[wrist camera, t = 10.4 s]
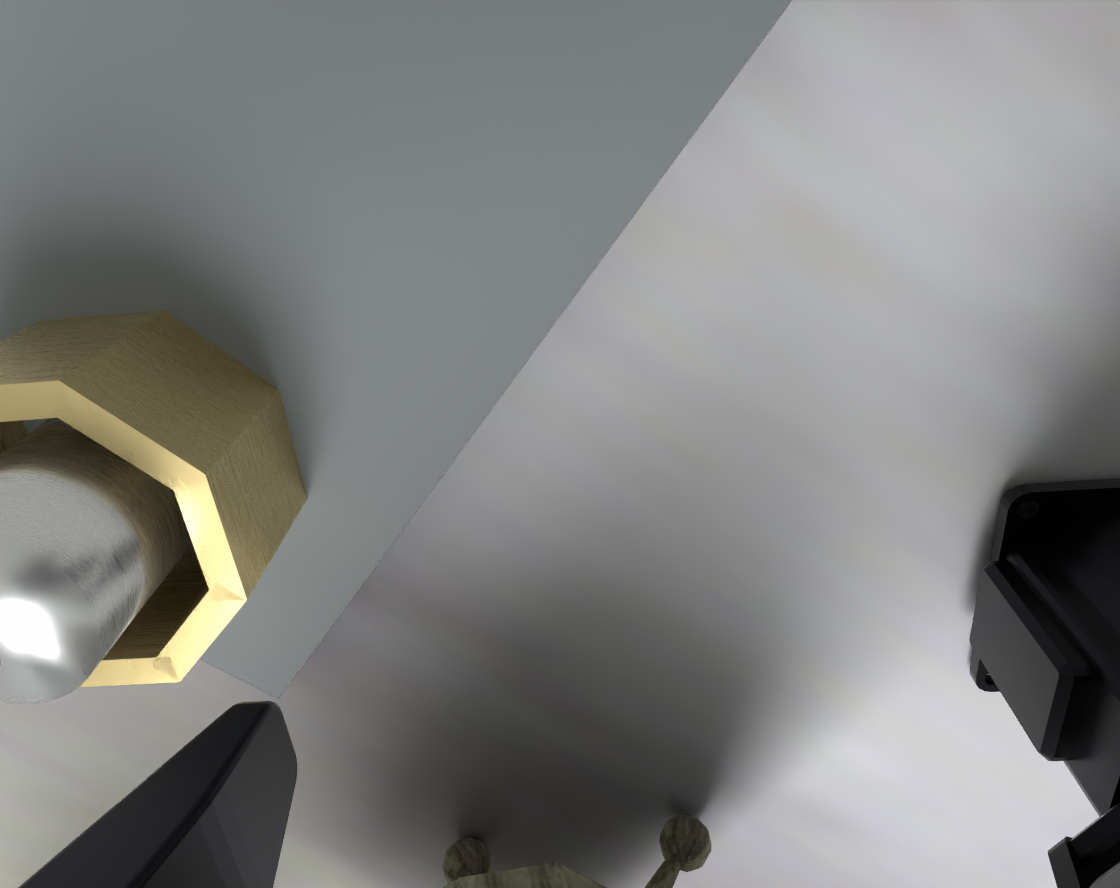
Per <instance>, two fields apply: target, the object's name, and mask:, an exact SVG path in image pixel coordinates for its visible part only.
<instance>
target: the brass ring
mask: <svg viewBox="0 0 1120 888" xmlns="http://www.w3.org/2000/svg"><path fill="white" fill-rule="evenodd" d="M46 418H59V419H61V420H62V421H64V422H66V423H67V424H69V425H70V426H72V427H73V428H75V429H77V430H78V431H80V432H81V433H83V434H85V435H86V436H88V437H89V438H91V439H93V440H94V441H96V442H97V443H99V444H101V445H102V446H104V447H105V448H107V449H109V450H110V451H112V452H113V453H115V454H116V455H118V456H120V457H121V458H123V459H124V460H126V461H128V462H129V463H131V464H132V465H134V466H136V467H137V468H139V469H140V470H142V471H144V472H145V473H147V474H148V475H150V476H152V477H153V478H155V479H156V480H158V481H159V482H161V483H163V484H164V485H166V486H167V487H169V488H171V489H172V490H174V493H175V495H176V498H177V501H178V504H179V507H180V509H181V512H182V515H183V518H184V521H185V524H186V526H187V529H188V532H189V535H190V538H191V540H192V543H193V546H194V549H195V552H185V553H184V554H183V555H182V557H181V558H180V559H179V560H178V562H177V563H176V564H175V566H174V567H173V568H172V570H171V571H170V572H169V573H168V575H167V576H166V577H165V579H164V580H163V581H162V583H161V584H160V585H159V586H158V588H157V589H156V590H155V592H154V593H153V594H152V596H151V597H150V598H149V599H148V601H147V602H146V603H145V605H144V606H143V607H142V609H141V610H140V611H139V612H138V614H137V615H136V616H135V618H134V619H133V620H132V622H131V623H130V624H129V625H128V627H127V628H126V629H125V631H124V632H123V633H122V635H121V636H120V637H119V638H118V640H117V641H116V642H115V644H114V645H113V646H112V648H111V649H110V650H109V651H108V653H107V654H106V655H105V657H104V658H103V659H102V661H101V662H100V663H99V664H98V666H97V667H96V668H95V670H94V671H93V672H92V674H91V675H90V676H89V678H88V679H87V680H86V681H85V682H84V683H83V684H82V685H81V686H79V687H91V686H111V685H131V684H151V683H170V682H180V681H181V680H182V679H183V678H184V676H185V675H186V674H187V673H188V671H189V670H190V669H191V668H192V667H193V665H194V664H195V663H196V662H197V660H198V659H199V658H200V657H201V656H202V654H203V653H204V652H205V651H206V649H207V648H208V647H209V646H210V645H211V643H212V642H213V641H214V640H215V638H216V637H217V636H218V635H219V634H220V632H221V631H222V630H223V629H224V627H225V626H226V625H227V624H228V623H229V621H230V620H231V619H232V618H233V616H234V615H235V614H236V613H237V612H238V610H239V609H240V608H241V607H242V605H243V604H244V603H245V602H246V601H247V599H248V598H249V596H250V594H251V593H252V591H253V589H254V587H255V586H256V584H257V582H258V581H259V579H260V577H261V576H262V574H263V572H264V571H265V569H266V567H267V566H268V564H269V562H270V561H271V559H272V557H273V556H274V554H275V552H276V551H277V549H278V547H279V546H280V544H281V542H282V541H283V539H284V537H285V535H286V534H287V532H288V530H289V529H290V527H291V525H292V524H293V522H294V520H295V519H296V517H297V515H298V514H299V512H300V510H301V509H302V507H303V505H304V504H305V502H306V500H307V499H308V496H307V492H306V489H305V485H304V481H303V478H302V474H301V470H300V467H299V463H298V459H297V456H296V452H295V448H294V445H293V441H292V437H291V434H290V430H289V426H288V422H287V419H286V415H285V411H284V408H283V404H282V400H281V397H280V393H279V389H278V388H276V387H275V386H273V385H272V384H270V383H269V382H267V381H266V380H265V379H263V378H262V377H260V376H259V375H257V374H256V373H254V372H253V371H252V370H250V369H249V368H247V367H246V366H244V365H243V364H241V363H240V362H239V361H237V360H236V359H234V358H233V357H231V356H230V355H228V354H227V353H226V352H224V351H223V350H221V349H220V348H218V347H217V346H215V345H214V344H213V343H211V342H210V341H208V340H207V339H205V338H204V337H202V336H201V335H200V334H198V333H197V332H195V331H194V330H192V329H191V328H189V327H188V326H187V325H185V324H184V323H182V322H181V321H179V320H178V319H176V318H175V317H174V316H172V315H171V314H169V313H168V312H166V311H165V310H160V311H148V312H136V313H124V314H112V315H100V316H88V317H76V318H64V319H52V320H40V321H37V322H35V323H33V324H31V325H30V326H28V327H26V328H24V329H22V330H20V331H18V332H16V333H14V334H13V335H11V336H9V337H7V338H5V339H3V340H1V341H0V454H1V453H3V452H4V451H6V450H7V449H8V448H10V447H11V446H12V445H14V444H15V443H17V442H18V441H19V440H21V439H22V438H23V437H25V436H26V435H28V433H27V430H26V428H25V426H24V423H23V421H22V420H33V419H46Z"/></svg>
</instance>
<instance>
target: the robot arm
mask: <svg viewBox="0 0 1120 888" xmlns="http://www.w3.org/2000/svg"><path fill="white" fill-rule="evenodd" d="M1028 501H1031V503H1030V505H1029V506H1028V507H1026V508H1025V509H1022V510H1018V509H1019V507H1020V506H1021V505H1022V504H1023V503H1025V502H1028ZM970 643H971V645H972V647H973V648H974V649H973V654H972V659H971V665H970V675H971V676H972V678H973V680H974V681H975V683H976V685H977V686H978V687H979V688H980V689H982V690H984V691H989V692H998V691H1000V692H1001V693H1002V695H1003V697H1004V698H1005V700H1006V701H1007V703H1008V705H1009V706H1010V708H1011V709H1012V711H1013V713H1014V714H1015V716H1016V718H1017V719H1018V721H1019V722H1020V724H1021V726H1022V727H1023V729H1024V730H1025V732H1026V734H1027V735H1028V737H1029V738H1030V740H1031V742H1032V743H1033V745H1034V747H1035V748H1036V750H1037V751H1038V752H1039V753H1040V754H1041V755H1042V756H1043V757H1045V758H1046V759H1047V760H1048V761H1064V763H1065V764H1066V766H1067V767H1068V769H1069V770H1070V772H1071V773H1072V775H1073V776H1074V778H1075V779H1076V781H1077V783H1078V784H1079V786H1080V787H1081V789H1082V790H1083V792H1084V793H1085V795H1086V796H1087V798H1088V800H1089V801H1090V803H1091V804H1092V806H1093V807H1094V809H1095V810H1096V812H1097V813H1098V815H1099V818H1098V819H1097V820H1095V821H1094V822H1093V823H1091V824H1090V825H1089V826H1088V827H1086V828H1085V829H1084V830H1082V831H1081V832H1080V833H1079V834H1077V835H1076V836H1075V837H1073V838H1071V837H1065V838H1064V839H1063V840H1061V841H1060V842H1059V843H1058V844H1056V845H1055V846H1054V847H1052V848H1051V849H1050V850H1049V851H1048V856H1049V859H1050V863H1051V866H1052V870H1053V873H1054V877H1055V880H1056V884H1057V887H1058V888H1120V479H1106V480H1089V481H1071V482H1054V483H1036V484H1023V485H1018V486H1015V487H1013V488H1012V489H1010V490H1008V492H1007V493H1006V494H1005V495H1004V496H1003V498H1002V500H1001V503H1000V508H999V514H998V519H997V525H996V530H995V535H994V541H993V546H992V552H991V557H990V562H988V563H987V564H986V566H985V567H984V568H983V570H982V573H981V579H980V584H979V590H978V595H977V601H976V606H975V612H974V617H973V623H972V628H971V634H970ZM987 674H990V675H987ZM296 778H297V759H296V755H295V751H294V748H293V745H292V742H291V739H290V736H289V733H288V730H287V726H286V723H285V720H284V717H283V714H282V711H281V709H280V707H279V706H278V705H277V704H276V703H274V702H271V701H261V702H242V703H238V704H235V705H233V706H232V707H231V708H229V709H228V710H227V711H226V712H224V713H223V714H222V715H221V716H220V717H218V718H217V719H216V720H215V721H214V722H213V723H211V724H210V725H209V726H208V727H207V728H206V729H204V730H203V731H202V732H201V733H200V734H198V735H197V736H196V737H195V738H194V739H193V740H191V741H190V742H189V743H188V744H187V745H186V746H184V747H183V748H182V749H181V750H180V751H178V752H177V753H176V754H175V755H174V756H173V757H171V758H170V759H169V760H168V761H167V762H166V763H164V764H163V765H162V766H161V767H160V768H158V769H157V770H156V771H155V772H154V773H153V774H151V775H150V776H149V777H148V778H147V779H146V780H144V781H143V782H142V783H141V784H140V785H138V786H137V787H136V788H135V789H134V790H133V791H131V792H130V793H129V794H128V795H127V796H125V797H124V798H123V799H122V800H121V801H120V802H118V803H117V804H116V805H115V806H114V807H113V808H111V809H110V810H109V811H108V812H107V813H105V814H104V815H103V816H102V817H101V818H100V819H98V820H97V821H96V822H95V823H94V824H93V825H91V826H90V827H89V828H88V829H87V830H85V831H84V832H83V833H82V834H81V835H80V836H78V837H77V838H76V839H75V840H74V841H73V842H71V843H70V844H69V845H68V846H67V847H65V848H64V849H63V850H62V851H61V852H60V853H58V854H57V855H56V856H55V857H54V858H52V859H51V860H50V861H49V862H48V863H47V864H45V865H44V866H43V867H42V868H41V869H40V870H38V871H37V872H36V873H35V874H34V875H32V876H31V877H30V878H29V879H28V880H27V881H25V882H24V883H23V884H22V885H21V886H20V887H18V888H273V884H274V880H275V875H276V871H277V866H278V861H279V857H280V852H281V848H282V843H283V839H284V834H285V829H286V825H287V820H288V816H289V811H290V806H291V802H292V797H293V793H294V788H295V784H296Z"/></svg>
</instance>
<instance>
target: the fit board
mask: <svg viewBox="0 0 1120 888" xmlns="http://www.w3.org/2000/svg"><path fill="white" fill-rule="evenodd" d="M791 1H792V0H0V341H1V340H3V339H5V338H7V337H9V336H11V335H13V334H14V333H16V332H18V331H20V330H22V329H24V328H26V327H28V326H30V325H31V324H33V323H35V322H37V321H40V320H52V319H64V318H76V317H88V316H100V315H112V314H124V313H136V312H148V311H160V310H165V311H166V312H168V313H169V314H171V315H172V316H174V317H175V318H176V319H178V320H179V321H181V322H182V323H184V324H185V325H187V326H188V327H189V328H191V329H192V330H194V331H195V332H197V333H198V334H200V335H201V336H202V337H204V338H205V339H207V340H208V341H210V342H211V343H213V344H214V345H215V346H217V347H218V348H220V349H221V350H223V351H224V352H226V353H227V354H228V355H230V356H231V357H233V358H234V359H236V360H237V361H239V362H240V363H241V364H243V365H244V366H246V367H247V368H249V369H250V370H252V371H253V372H254V373H256V374H257V375H259V376H260V377H262V378H263V379H265V380H266V381H267V382H269V383H270V384H272V385H273V386H275V387H276V388H278V389H279V393H280V397H281V400H282V404H283V408H284V411H285V415H286V419H287V422H288V426H289V430H290V434H291V437H292V441H293V445H294V448H295V452H296V456H297V459H298V463H299V467H300V470H301V474H302V478H303V481H304V485H305V489H306V492H307V496H308V499H307V500H306V502H305V504H304V505H303V507H302V509H301V510H300V512H299V514H298V515H297V517H296V519H295V520H294V522H293V524H292V525H291V527H290V529H289V530H288V532H287V534H286V535H285V537H284V539H283V541H282V542H281V544H280V546H279V547H278V549H277V551H276V552H275V554H274V556H273V557H272V559H271V561H270V562H269V564H268V566H267V567H266V569H265V571H264V572H263V574H262V576H261V577H260V579H259V581H258V582H257V584H256V586H255V587H254V589H253V591H252V593H251V594H250V596H249V598H248V599H247V601H246V602H245V603H244V604H243V605H242V607H241V608H240V609H239V610H238V612H237V613H236V614H235V615H234V616H233V618H232V619H231V620H230V621H229V623H228V624H227V625H226V626H225V627H224V629H223V630H222V631H221V632H220V634H219V635H218V636H217V637H216V638H215V640H214V641H213V642H212V643H211V645H210V646H209V647H208V648H207V649H206V651H205V652H204V653H203V654H202V656H201V657H200V658H199V659H200V660H202V661H204V662H206V663H208V664H210V665H212V666H214V667H216V668H218V669H220V670H222V671H224V672H226V673H228V674H230V675H232V676H234V677H236V678H238V679H240V680H242V681H244V682H246V683H248V684H250V685H252V686H254V687H256V688H258V689H260V690H262V691H264V692H266V693H268V694H270V695H272V696H274V697H276V698H278V699H279V697H280V696H281V695H282V693H283V692H284V691H285V689H286V688H287V687H288V685H289V684H290V683H291V681H292V680H293V678H294V677H295V676H296V674H297V673H298V672H299V670H300V669H301V668H302V666H303V665H304V663H305V662H306V661H307V659H308V658H309V657H310V655H311V654H312V653H313V651H314V650H315V649H316V647H317V646H318V644H319V643H320V642H321V640H322V639H323V638H324V636H325V635H326V634H327V632H328V631H329V629H330V628H331V627H332V625H333V624H334V623H335V621H336V620H337V619H338V617H339V616H340V615H341V613H342V612H343V610H344V609H345V608H346V606H347V605H348V604H349V602H350V601H351V600H352V598H353V597H354V595H355V594H356V593H357V591H358V590H359V589H360V587H361V586H362V585H363V583H364V582H365V581H366V579H367V578H368V576H369V575H370V574H371V572H372V571H373V570H374V568H375V567H376V566H377V564H378V563H379V561H380V560H381V559H382V557H383V556H384V555H385V553H386V552H387V551H388V549H389V548H390V547H391V545H392V544H393V542H394V541H395V540H396V538H397V537H398V536H399V534H400V533H401V532H402V530H403V529H404V527H405V526H406V525H407V523H408V522H409V521H410V519H411V518H412V517H413V515H414V514H415V513H416V511H417V510H418V508H419V507H420V506H421V504H422V503H423V502H424V500H425V499H426V498H427V496H428V495H429V493H430V492H431V491H432V489H433V488H434V487H435V485H436V484H437V483H438V481H439V480H440V479H441V477H442V476H443V474H444V473H445V472H446V470H447V469H448V468H449V466H450V465H451V464H452V462H453V461H454V459H455V458H456V457H457V455H458V454H459V453H460V451H461V450H462V449H463V447H464V446H465V445H466V443H467V442H468V440H469V439H470V438H471V436H472V435H473V434H474V432H475V431H476V430H477V428H478V427H479V425H480V424H481V423H482V421H483V420H484V419H485V417H486V416H487V415H488V413H489V412H490V411H491V409H492V408H493V406H494V405H495V404H496V402H497V401H498V400H499V398H500V397H501V396H502V394H503V393H504V391H505V390H506V389H507V387H508V386H509V385H510V383H511V382H512V381H513V379H514V378H515V377H516V375H517V374H518V372H519V371H520V370H521V368H522V367H523V366H524V364H525V363H526V362H527V360H528V359H529V358H530V356H531V355H532V353H533V352H534V351H535V349H536V348H537V347H538V345H539V344H540V343H541V341H542V340H543V338H544V337H545V336H546V334H547V333H548V332H549V330H550V329H551V328H552V326H553V325H554V324H555V322H556V321H557V319H558V318H559V317H560V315H561V314H562V313H563V311H564V310H565V309H566V307H567V306H568V304H569V303H570V302H571V300H572V299H573V298H574V296H575V295H576V294H577V292H578V291H579V290H580V288H581V287H582V285H583V284H584V283H585V281H586V280H587V279H588V277H589V276H590V275H591V273H592V272H593V270H594V269H595V268H596V266H597V265H598V264H599V262H600V261H601V260H602V258H603V257H604V256H605V254H606V253H607V251H608V250H609V249H610V247H611V246H612V245H613V243H614V242H615V241H616V239H617V238H618V236H619V235H620V234H621V232H622V231H623V230H624V228H625V227H626V226H627V224H628V223H629V222H630V220H631V219H632V217H633V216H634V215H635V213H636V212H637V211H638V209H639V208H640V207H641V205H642V204H643V202H644V201H645V200H646V198H647V197H648V196H649V194H650V193H651V192H652V190H653V189H654V188H655V186H656V185H657V183H658V182H659V181H660V179H661V178H662V177H663V175H664V174H665V173H666V171H667V170H668V168H669V167H670V166H671V164H672V163H673V162H674V160H675V159H676V158H677V156H678V155H679V154H680V152H681V151H682V149H683V148H684V147H685V145H686V144H687V143H688V141H689V140H690V139H691V137H692V136H693V134H694V133H695V132H696V130H697V129H698V128H699V126H700V125H701V124H702V122H703V121H704V120H705V118H706V117H707V115H708V114H709V113H710V111H711V110H712V109H713V107H714V106H715V105H716V103H717V102H718V100H719V99H720V98H721V96H722V95H723V94H724V92H725V91H726V90H727V88H728V87H729V86H730V84H731V83H732V81H733V80H734V79H735V77H736V76H737V75H738V73H739V72H740V71H741V69H742V68H743V66H744V65H745V64H746V62H747V61H748V60H749V58H750V57H751V56H752V54H753V53H754V52H755V50H756V49H757V47H758V46H759V45H760V43H761V42H762V41H763V39H764V38H765V37H766V35H767V34H768V32H769V31H770V30H771V28H772V27H773V26H774V24H775V23H776V22H777V20H778V19H779V18H780V16H781V15H782V13H783V12H784V11H785V9H786V8H787V7H788V5H789V4H790V3H791ZM22 421H23V423H24V426H25V428H26V430H27V433H28V435H26V436H25V437H23V438H22V439H21V440H19V441H18V442H17V443H15V444H14V445H12V446H11V447H10V448H8V449H7V450H6V451H4V452H3V453H1V454H0V702H4V703H16V704H27V703H39V702H45V701H50V700H53V699H56V698H60V697H62V696H64V695H66V694H68V693H71V692H72V691H74V690H75V689H77V688H78V687H79V686H81V685H82V684H83V683H84V682H85V681H86V680H87V679H88V678H89V676H90V675H91V674H92V672H93V671H94V670H95V668H96V667H97V666H98V664H99V663H100V662H101V661H102V659H103V658H104V657H105V655H106V654H107V653H108V651H109V650H110V649H111V648H112V646H113V645H114V644H115V642H116V641H117V640H118V638H119V637H120V636H121V635H122V633H123V632H124V631H125V629H126V628H127V627H128V625H129V624H130V623H131V622H132V620H133V619H134V618H135V616H136V615H137V614H138V612H139V611H140V610H141V609H142V607H143V606H144V605H145V603H146V602H147V601H148V599H149V598H150V597H151V596H152V594H153V593H154V592H155V590H156V589H157V588H158V586H159V585H160V584H161V583H162V581H163V580H164V579H165V577H166V576H167V575H168V573H169V572H170V571H171V570H172V568H173V567H174V566H175V564H176V563H177V562H178V560H179V559H180V558H181V557H182V555H183V554H184V553H185V552H195V549H194V546H193V543H192V540H191V538H190V535H189V532H188V529H187V526H186V524H185V521H184V518H183V515H182V512H181V509H180V507H179V504H178V501H177V498H176V495H175V493H174V490H172V489H171V488H169V487H167V486H166V485H164V484H163V483H161V482H159V481H158V480H156V479H155V478H153V477H152V476H150V475H148V474H147V473H145V472H144V471H142V470H140V469H139V468H137V467H136V466H134V465H132V464H131V463H129V462H128V461H126V460H124V459H123V458H121V457H120V456H118V455H116V454H115V453H113V452H112V451H110V450H109V449H107V448H105V447H104V446H102V445H101V444H99V443H97V442H96V441H94V440H93V439H91V438H89V437H88V436H86V435H85V434H83V433H81V432H80V431H78V430H77V429H75V428H73V427H72V426H70V425H69V424H67V423H66V422H64V421H62V420H61V419H59V418H46V419H33V420H22Z"/></svg>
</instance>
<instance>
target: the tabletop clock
mask: <svg viewBox="0 0 1120 888" xmlns="http://www.w3.org/2000/svg"><path fill="white" fill-rule="evenodd" d="M659 841H660V845H661V849H662V853H663V856H664V859H665V861H664V862H663V863H662V865H661V866H660V867H659V869H658V870H657V871H656V873H655V874H654V876H653V877H652V878H651V880H650V881H649V882H648V884H647V885H646V887H645V888H672V887H673V885H674V883H675V880H676V878H677V876H678V873H679V871H680V870H682V871H685V872H688V871H692V870H695V869H698V868H700V867H702V866H703V864H704V863H705V861H706V859H707V857H708V855H709V854H710V852H711V841H710V837H709V832H708V830H707V828H706V827H705V826H704V825H703V824H702V823H701V822H700V821H699V820H698V819H697V818H695V817H692V816H688V815H685V814H683V815H680V816H677V817H674V818H672V819H669V820H668V822H667V823H666V825H665V827H664V829H663V831H662V833H661V834H660V840H659ZM492 867H493V861H492V858H491V855H490V853H489V850H488V848H487V846H486V845H485V844H484V842H482V841H479V840H476V839H473V838H470V837H468V838H464V839H461V840H458V841H456V842H455V843H454V844H453V845H452V846H451V847H450V848H449V849H448V850H447V853H446V856H445V859H444V863H443V870H444V874H445V876H446V878H447V881H448V883H449V884H447V885H446V886H445V887H443V888H606V887H604V886H603V885H601V884H599V883H597V882H595V881H593V880H591V879H589V878H587V877H585V876H583V875H581V874H579V873H577V872H575V871H573V870H571V869H569V868H567V867H566V866H564V865H562V864H560V863H558V862H552V863H546V864H540V865H533V866H527V867H521V868H515V869H509V870H502V871H496V872H491V871H492Z"/></svg>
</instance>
